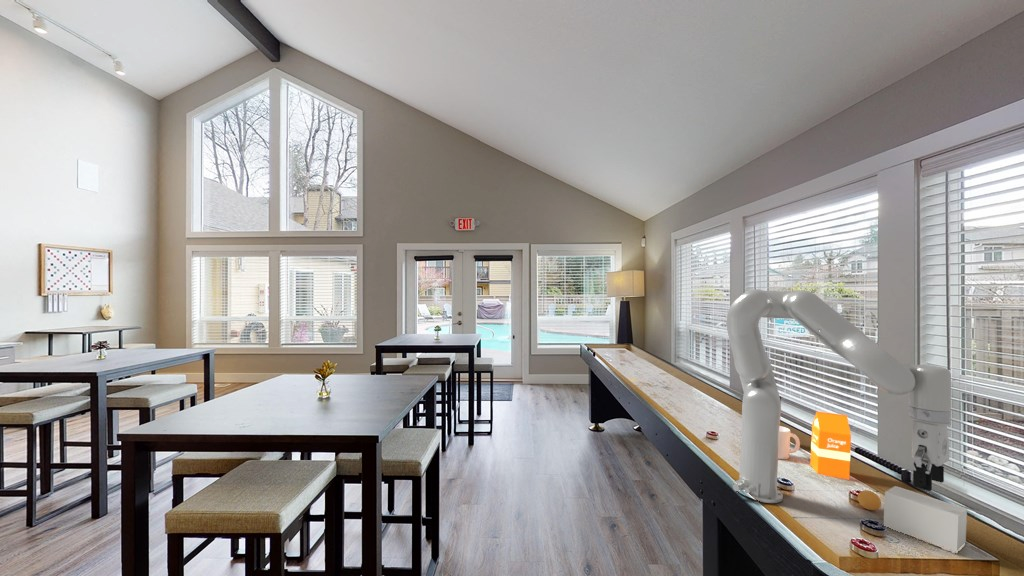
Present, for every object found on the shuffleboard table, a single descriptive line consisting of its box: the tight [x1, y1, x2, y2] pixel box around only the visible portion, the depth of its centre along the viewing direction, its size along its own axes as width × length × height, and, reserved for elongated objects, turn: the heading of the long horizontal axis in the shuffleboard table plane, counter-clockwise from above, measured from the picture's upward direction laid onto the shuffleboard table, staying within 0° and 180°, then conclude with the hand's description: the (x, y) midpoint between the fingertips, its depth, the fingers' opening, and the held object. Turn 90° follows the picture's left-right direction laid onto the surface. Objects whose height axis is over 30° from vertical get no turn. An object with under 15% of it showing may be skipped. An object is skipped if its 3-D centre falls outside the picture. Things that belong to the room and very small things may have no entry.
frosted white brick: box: [883, 485, 968, 551], centre depth 104 cm, size 8×13×9 cm, turn 32°
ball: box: [857, 489, 882, 511], centre depth 117 cm, size 5×5×5 cm
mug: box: [778, 425, 801, 460], centre depth 154 cm, size 12×8×10 cm
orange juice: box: [810, 411, 852, 480], centre depth 142 cm, size 8×9×20 cm
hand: (928, 484), depth 104 cm, fingers open, 9 cm apart
